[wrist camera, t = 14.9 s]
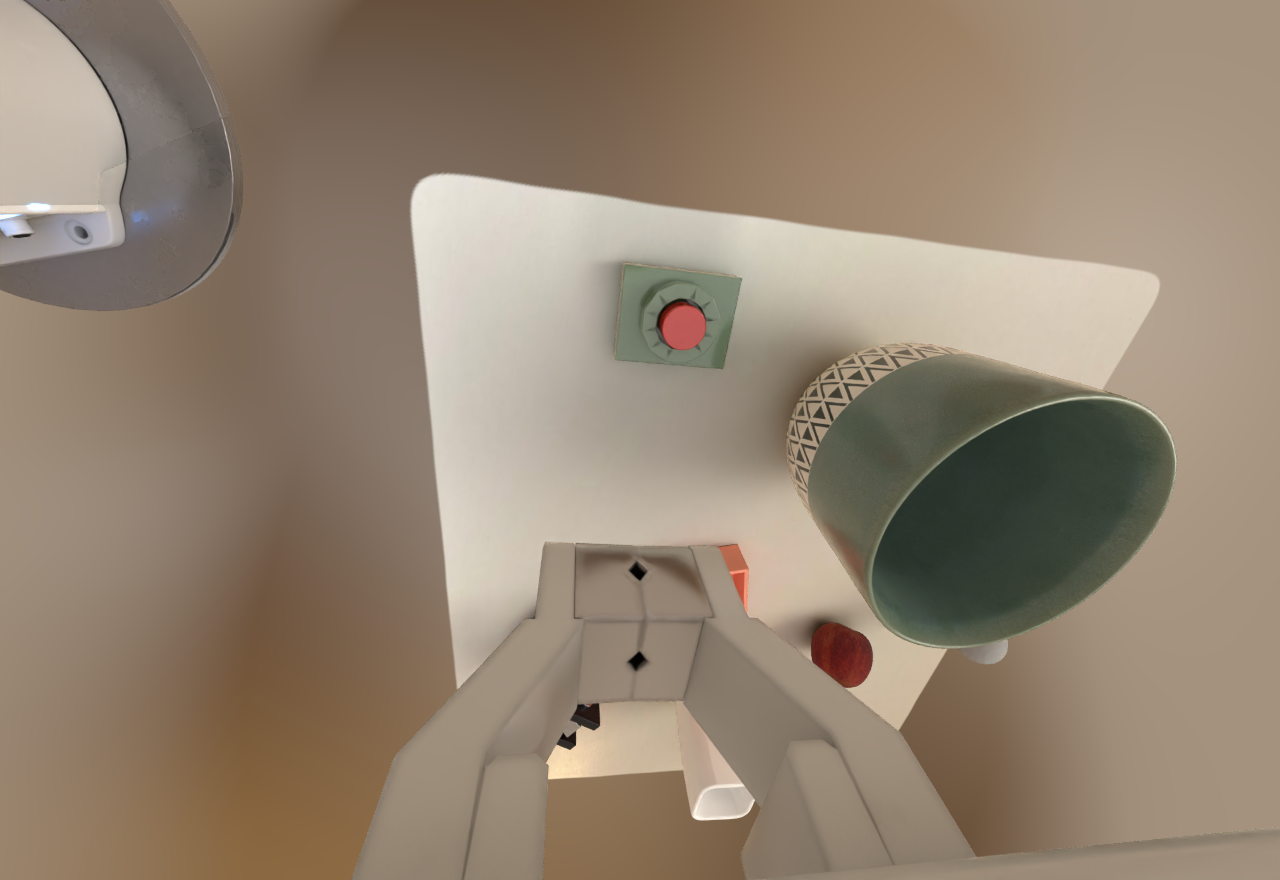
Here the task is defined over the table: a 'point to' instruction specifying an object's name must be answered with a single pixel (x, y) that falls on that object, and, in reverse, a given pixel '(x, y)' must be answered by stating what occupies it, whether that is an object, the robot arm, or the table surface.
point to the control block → (658, 289)
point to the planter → (974, 488)
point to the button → (682, 325)
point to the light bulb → (986, 652)
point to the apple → (842, 654)
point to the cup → (708, 774)
